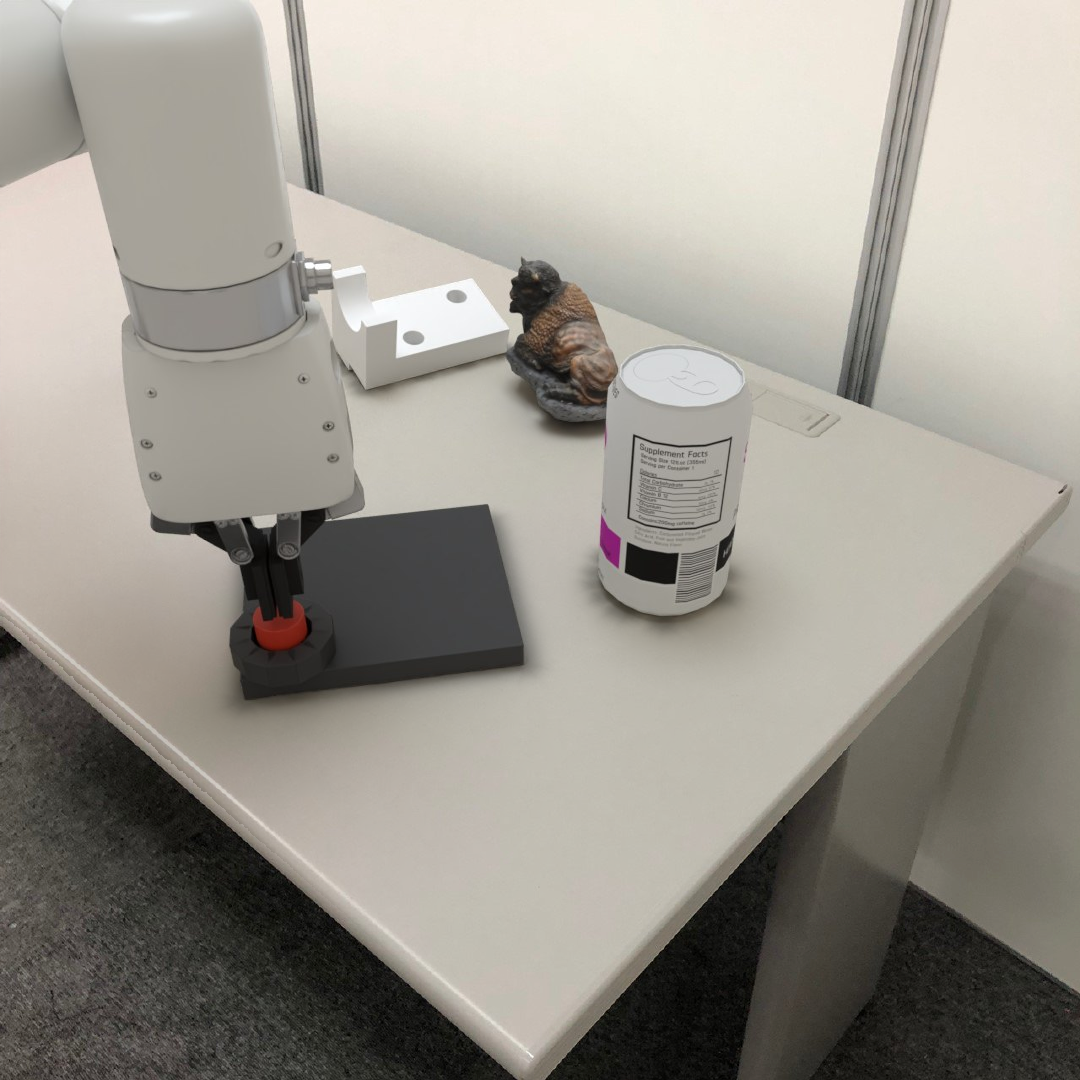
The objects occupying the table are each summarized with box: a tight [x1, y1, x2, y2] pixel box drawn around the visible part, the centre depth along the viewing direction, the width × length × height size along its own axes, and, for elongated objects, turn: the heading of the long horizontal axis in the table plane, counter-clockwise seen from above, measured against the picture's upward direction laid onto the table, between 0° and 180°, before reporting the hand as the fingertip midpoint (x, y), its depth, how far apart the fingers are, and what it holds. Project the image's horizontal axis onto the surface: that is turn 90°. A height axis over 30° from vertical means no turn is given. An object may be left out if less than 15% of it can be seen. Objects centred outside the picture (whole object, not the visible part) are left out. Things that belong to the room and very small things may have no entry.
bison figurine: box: [505, 256, 619, 423], centre depth 83 cm, size 12×7×10 cm, turn 30°
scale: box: [228, 503, 525, 701], centre depth 66 cm, size 16×15×3 cm
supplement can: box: [597, 343, 754, 617], centre depth 64 cm, size 8×8×15 cm
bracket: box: [330, 264, 511, 391], centre depth 90 cm, size 13×7×8 cm, turn 120°
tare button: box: [253, 600, 307, 651], centre depth 60 cm, size 3×3×2 cm
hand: (278, 602), depth 59 cm, fingers closed
